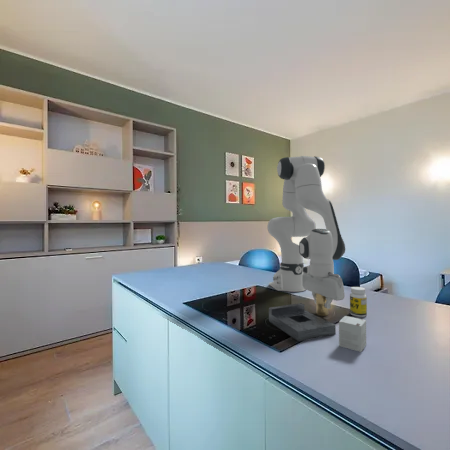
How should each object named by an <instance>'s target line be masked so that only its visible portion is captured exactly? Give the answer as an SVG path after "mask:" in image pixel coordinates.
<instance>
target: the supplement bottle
mask: <svg viewBox="0 0 450 450" xmlns="http://www.w3.org/2000/svg"><path fill="white" fill-rule="evenodd" d="M350 292H351V293H349V312H350V315H352V317H353V316H354V317H356V318H364V317H367V316H368V308H367V307H368V306H367V305H368V304H367V303H368V301H367V299H368V298H367V297H368V296H367V295H366V288H364V287H361V286H351V287H350Z"/></svg>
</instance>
